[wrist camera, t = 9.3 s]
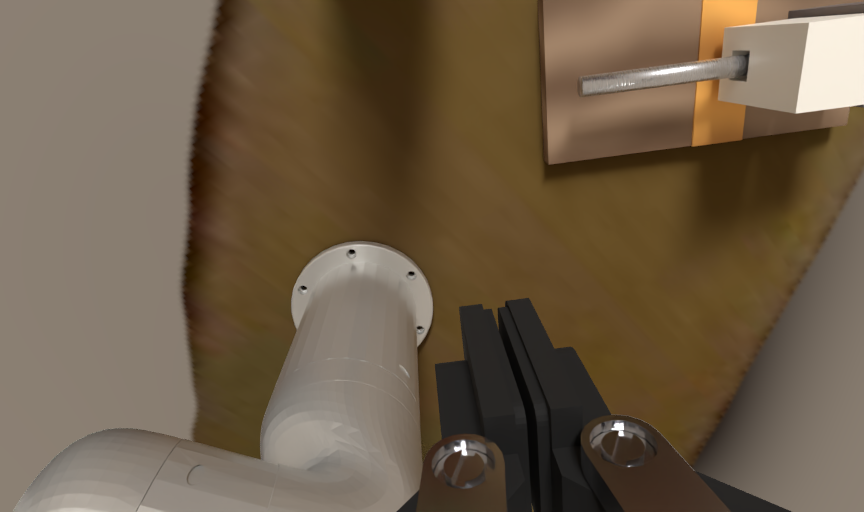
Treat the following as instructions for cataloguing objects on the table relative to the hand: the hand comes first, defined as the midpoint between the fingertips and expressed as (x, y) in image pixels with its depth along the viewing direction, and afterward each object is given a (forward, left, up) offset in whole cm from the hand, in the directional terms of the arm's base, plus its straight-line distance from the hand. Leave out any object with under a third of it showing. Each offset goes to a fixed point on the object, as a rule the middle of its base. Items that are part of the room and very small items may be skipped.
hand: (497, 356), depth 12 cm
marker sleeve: (+3, -24, -28) cm, 37 cm away
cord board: (+3, -21, -31) cm, 38 cm away
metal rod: (+3, -19, -27) cm, 33 cm away
